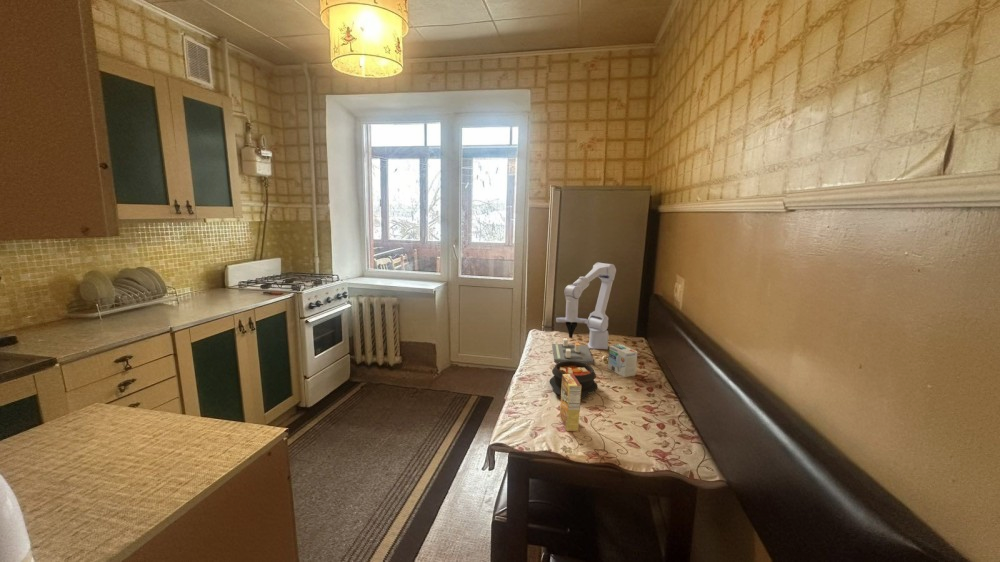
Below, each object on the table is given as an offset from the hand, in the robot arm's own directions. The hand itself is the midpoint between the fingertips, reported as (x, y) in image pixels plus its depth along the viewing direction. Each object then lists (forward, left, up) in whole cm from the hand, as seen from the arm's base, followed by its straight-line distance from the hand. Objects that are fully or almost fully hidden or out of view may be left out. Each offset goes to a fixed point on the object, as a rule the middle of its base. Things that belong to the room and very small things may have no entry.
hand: (570, 336), depth 182 cm
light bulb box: (-21, +18, -9) cm, 29 cm away
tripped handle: (-3, 0, -7) cm, 8 cm away
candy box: (+6, +64, -9) cm, 65 cm away
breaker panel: (-1, 0, -9) cm, 9 cm away
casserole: (+2, +37, -9) cm, 38 cm away
